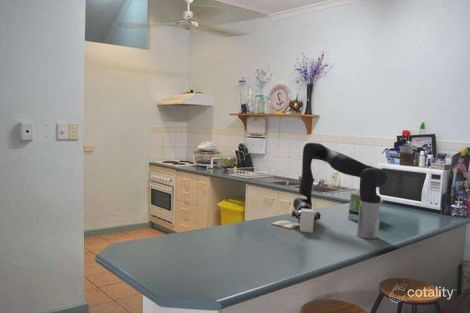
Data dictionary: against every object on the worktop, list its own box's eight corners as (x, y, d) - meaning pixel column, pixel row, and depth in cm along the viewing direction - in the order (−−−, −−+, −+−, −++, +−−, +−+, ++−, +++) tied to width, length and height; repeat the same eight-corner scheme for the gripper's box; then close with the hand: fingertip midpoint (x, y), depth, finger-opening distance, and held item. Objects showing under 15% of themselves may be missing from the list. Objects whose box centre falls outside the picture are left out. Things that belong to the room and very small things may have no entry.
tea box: (364, 223, 224) (367, 196, 222) (347, 219, 230) (350, 193, 228) (373, 218, 236) (376, 194, 234) (357, 215, 242) (359, 191, 240)
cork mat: (301, 225, 207) (301, 224, 207) (290, 229, 198) (290, 227, 198) (282, 220, 214) (282, 219, 213) (271, 224, 205) (271, 223, 205)
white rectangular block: (311, 229, 201) (313, 209, 200) (312, 232, 195) (314, 212, 194) (299, 228, 202) (301, 208, 201) (300, 231, 196) (302, 211, 195)
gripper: (291, 202, 215) (293, 209, 199) (318, 205, 214) (322, 211, 198) (290, 216, 216) (291, 223, 200) (317, 219, 214) (320, 226, 198)
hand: (306, 217), depth 199 cm, fingers open, 8 cm apart
